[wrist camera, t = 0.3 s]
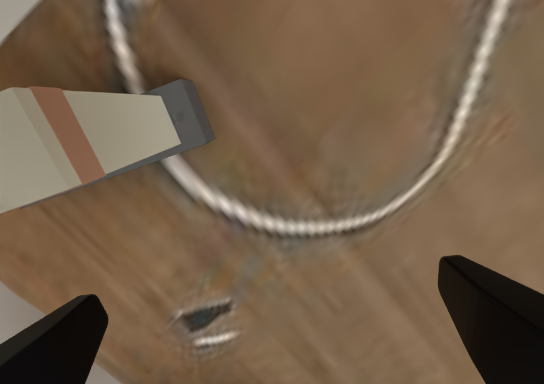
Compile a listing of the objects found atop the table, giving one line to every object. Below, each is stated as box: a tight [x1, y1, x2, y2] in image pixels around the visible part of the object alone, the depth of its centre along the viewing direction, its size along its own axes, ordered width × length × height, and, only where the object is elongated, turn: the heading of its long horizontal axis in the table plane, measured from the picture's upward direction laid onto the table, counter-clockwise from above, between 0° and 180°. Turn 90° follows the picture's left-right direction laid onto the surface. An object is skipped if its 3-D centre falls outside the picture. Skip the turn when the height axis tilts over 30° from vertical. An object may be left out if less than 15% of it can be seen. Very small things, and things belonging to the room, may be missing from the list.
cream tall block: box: [0, 86, 181, 214], centre depth 13 cm, size 3×4×10 cm
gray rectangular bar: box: [20, 79, 215, 209], centre depth 20 cm, size 4×14×2 cm, turn 109°
